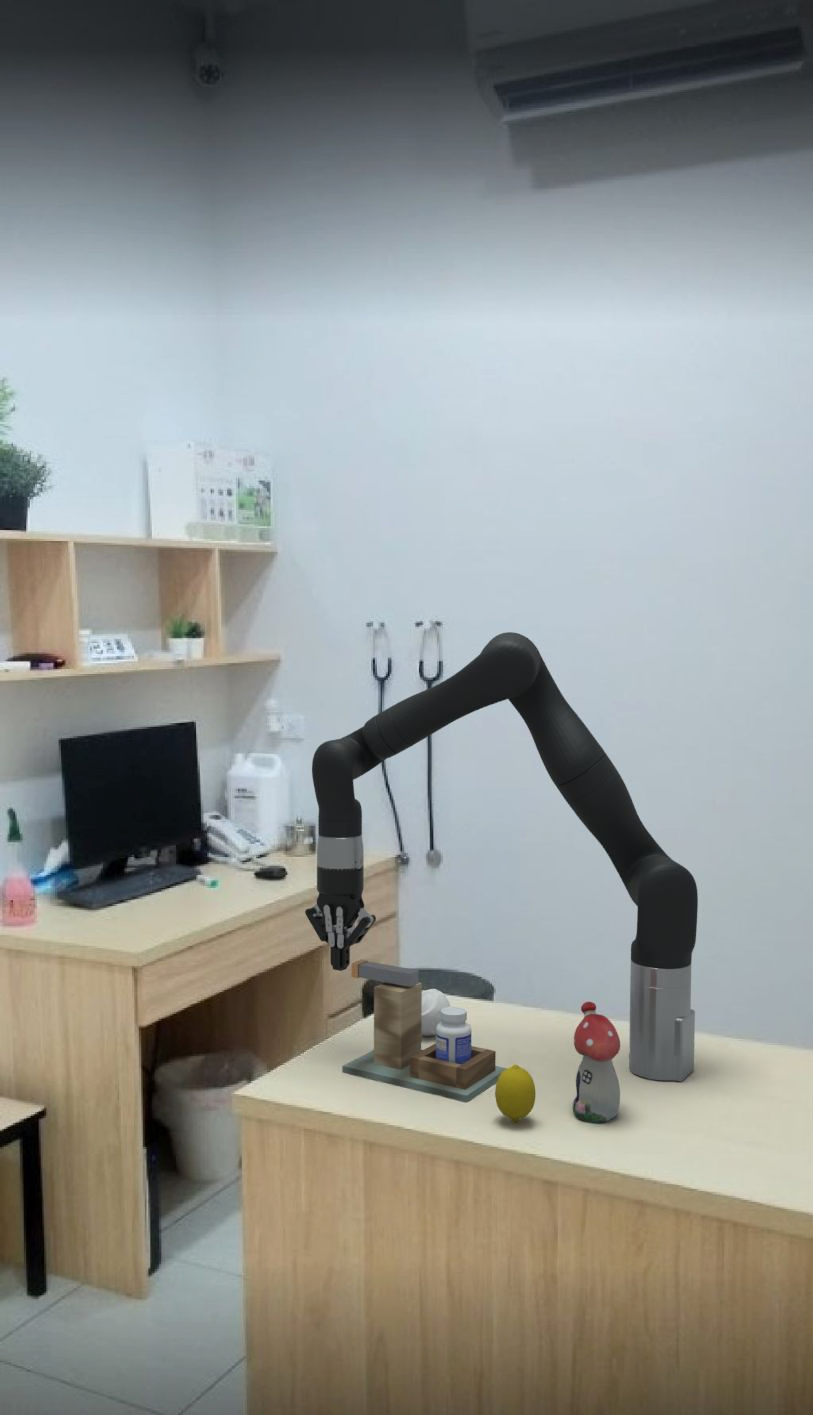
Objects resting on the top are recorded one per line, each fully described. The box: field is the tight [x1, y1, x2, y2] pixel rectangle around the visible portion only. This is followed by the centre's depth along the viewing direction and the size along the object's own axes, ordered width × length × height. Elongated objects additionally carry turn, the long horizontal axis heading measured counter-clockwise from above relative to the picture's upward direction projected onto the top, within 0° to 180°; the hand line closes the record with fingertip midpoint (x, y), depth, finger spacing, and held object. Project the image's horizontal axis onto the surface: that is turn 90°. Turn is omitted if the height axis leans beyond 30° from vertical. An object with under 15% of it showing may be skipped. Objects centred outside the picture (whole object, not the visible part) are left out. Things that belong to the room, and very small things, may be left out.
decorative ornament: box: [572, 1001, 621, 1124], centre depth 161 cm, size 9×6×15 cm
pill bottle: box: [435, 1006, 472, 1065], centre depth 173 cm, size 5×5×10 cm
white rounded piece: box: [421, 988, 451, 1037], centre depth 194 cm, size 8×8×8 cm
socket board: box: [341, 982, 508, 1103], centre depth 176 cm, size 22×13×13 cm, turn 58°
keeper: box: [351, 959, 420, 987], centre depth 179 cm, size 11×3×2 cm, turn 58°
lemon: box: [494, 1064, 536, 1123], centre depth 158 cm, size 6×6×8 cm
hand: (340, 969), depth 184 cm, fingers closed
